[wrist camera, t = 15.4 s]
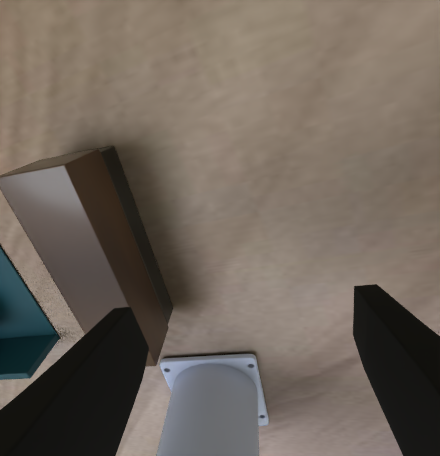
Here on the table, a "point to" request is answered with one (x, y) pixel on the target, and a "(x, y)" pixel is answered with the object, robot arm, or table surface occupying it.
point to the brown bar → (91, 239)
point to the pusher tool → (21, 326)
